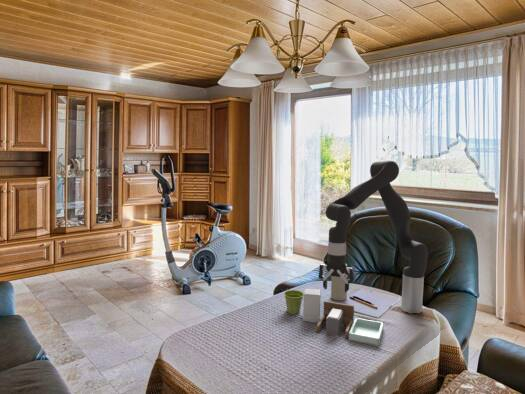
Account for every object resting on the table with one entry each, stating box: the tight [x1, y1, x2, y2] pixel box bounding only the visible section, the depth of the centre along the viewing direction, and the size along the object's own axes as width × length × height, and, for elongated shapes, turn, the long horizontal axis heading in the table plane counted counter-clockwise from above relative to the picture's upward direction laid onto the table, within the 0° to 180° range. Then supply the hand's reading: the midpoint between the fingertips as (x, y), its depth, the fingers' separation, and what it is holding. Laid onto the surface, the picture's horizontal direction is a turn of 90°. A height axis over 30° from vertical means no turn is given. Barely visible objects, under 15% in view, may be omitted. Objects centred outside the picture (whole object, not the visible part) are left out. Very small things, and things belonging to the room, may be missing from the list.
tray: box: [348, 317, 384, 347], centre depth 158 cm, size 16×12×3 cm
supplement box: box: [302, 288, 322, 323], centre depth 173 cm, size 7×7×13 cm
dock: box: [315, 300, 355, 340], centre depth 163 cm, size 13×13×9 cm
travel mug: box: [330, 263, 349, 302], centre depth 196 cm, size 8×8×18 cm
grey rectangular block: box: [325, 308, 344, 337], centre depth 162 cm, size 10×5×8 cm, turn 157°
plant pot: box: [283, 289, 304, 314], centre depth 180 cm, size 9×9×9 cm
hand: (335, 290), depth 160 cm, fingers open, 8 cm apart
